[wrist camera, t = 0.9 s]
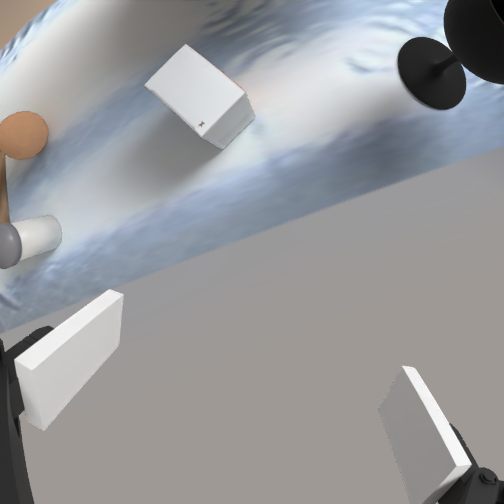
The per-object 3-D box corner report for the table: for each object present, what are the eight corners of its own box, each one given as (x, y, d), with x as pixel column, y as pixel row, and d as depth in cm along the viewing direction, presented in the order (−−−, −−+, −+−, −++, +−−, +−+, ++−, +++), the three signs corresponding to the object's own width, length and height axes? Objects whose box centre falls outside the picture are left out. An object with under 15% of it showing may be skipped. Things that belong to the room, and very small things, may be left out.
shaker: (35, 216, 39) (-15, 227, 29) (60, 211, 39) (9, 221, 29) (40, 252, 41) (-8, 269, 30) (65, 249, 40) (17, 268, 30)
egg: (54, 161, 38) (10, 160, 29) (24, 159, 38) (-18, 158, 29) (62, 115, 36) (20, 105, 27) (31, 115, 36) (-10, 108, 27)
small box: (256, 117, 35) (249, 92, 25) (222, 151, 36) (201, 139, 26) (208, 75, 34) (185, 41, 24) (176, 108, 35) (141, 84, 25)
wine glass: (382, 65, 32) (457, -14, 13) (423, 25, 30) (497, -48, 10) (440, 125, 33) (548, 95, 13) (476, 80, 31) (572, 41, 11)
